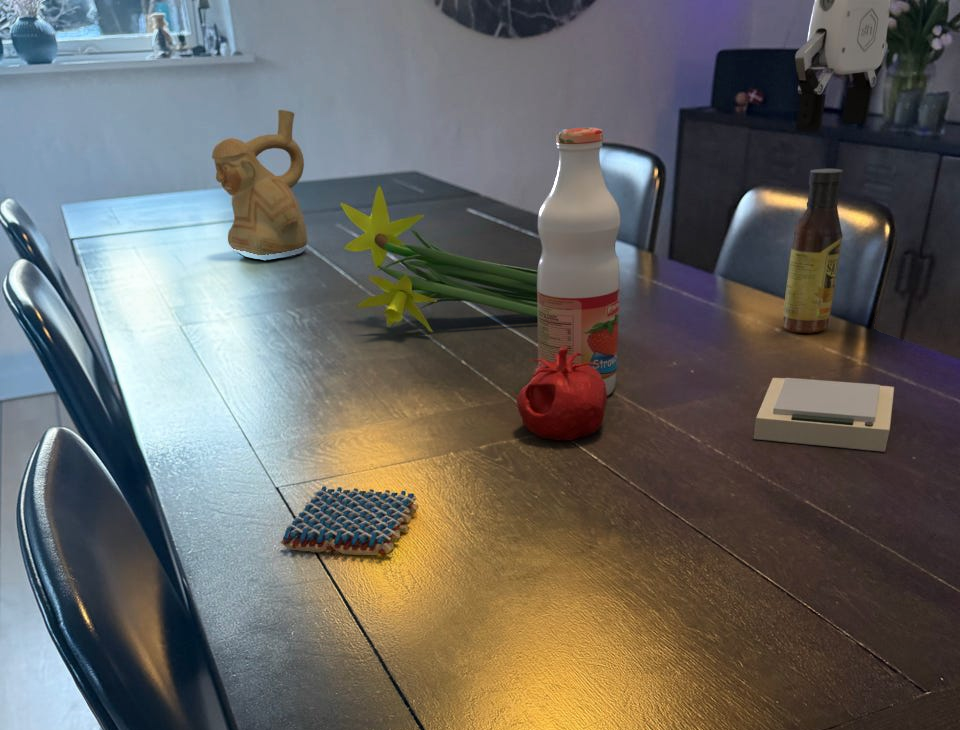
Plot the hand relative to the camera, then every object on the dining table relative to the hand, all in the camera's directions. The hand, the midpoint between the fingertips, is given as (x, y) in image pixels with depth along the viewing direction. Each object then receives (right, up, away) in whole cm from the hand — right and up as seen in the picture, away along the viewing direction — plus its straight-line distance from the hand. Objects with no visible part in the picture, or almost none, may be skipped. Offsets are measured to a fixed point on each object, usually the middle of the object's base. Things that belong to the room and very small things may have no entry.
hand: (831, 127), depth 115 cm
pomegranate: (-35, -41, -13) cm, 55 cm away
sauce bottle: (+2, -21, +14) cm, 25 cm away
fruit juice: (-32, -34, -2) cm, 46 cm away
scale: (-6, -40, -15) cm, 43 cm away
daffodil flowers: (-46, -16, +25) cm, 55 cm away
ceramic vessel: (-85, +14, +72) cm, 112 cm away
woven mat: (-55, -54, -30) cm, 83 cm away
